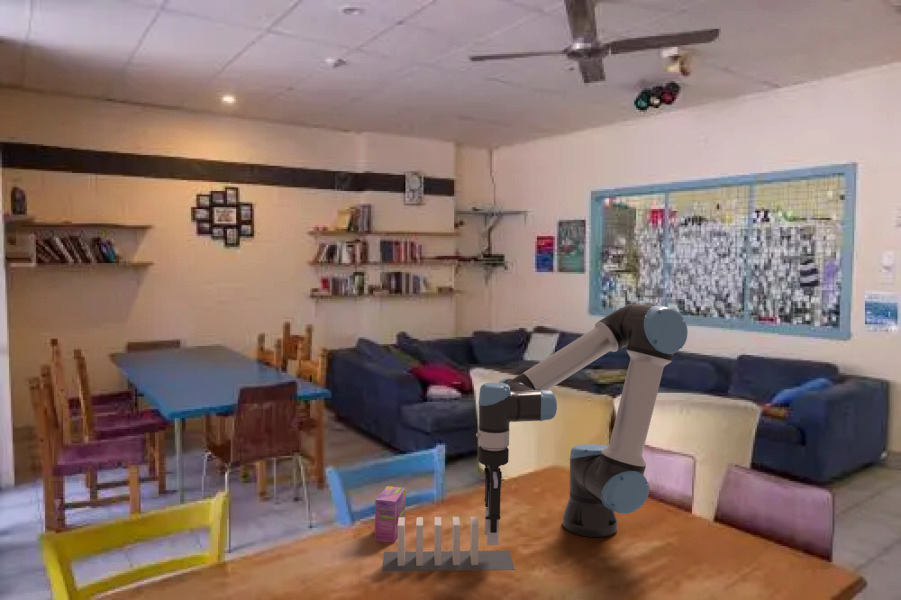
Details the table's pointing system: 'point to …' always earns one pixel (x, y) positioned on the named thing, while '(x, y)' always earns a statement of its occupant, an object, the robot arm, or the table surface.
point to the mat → (449, 561)
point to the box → (389, 513)
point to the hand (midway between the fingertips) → (491, 538)
